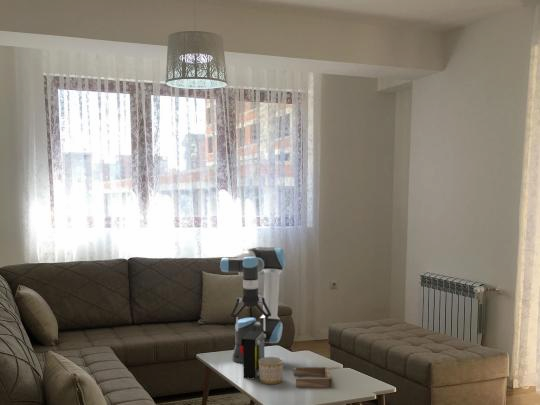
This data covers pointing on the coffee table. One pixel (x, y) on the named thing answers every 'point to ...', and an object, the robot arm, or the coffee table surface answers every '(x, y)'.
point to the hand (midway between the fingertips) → (250, 330)
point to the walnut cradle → (312, 381)
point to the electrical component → (252, 352)
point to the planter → (271, 370)
